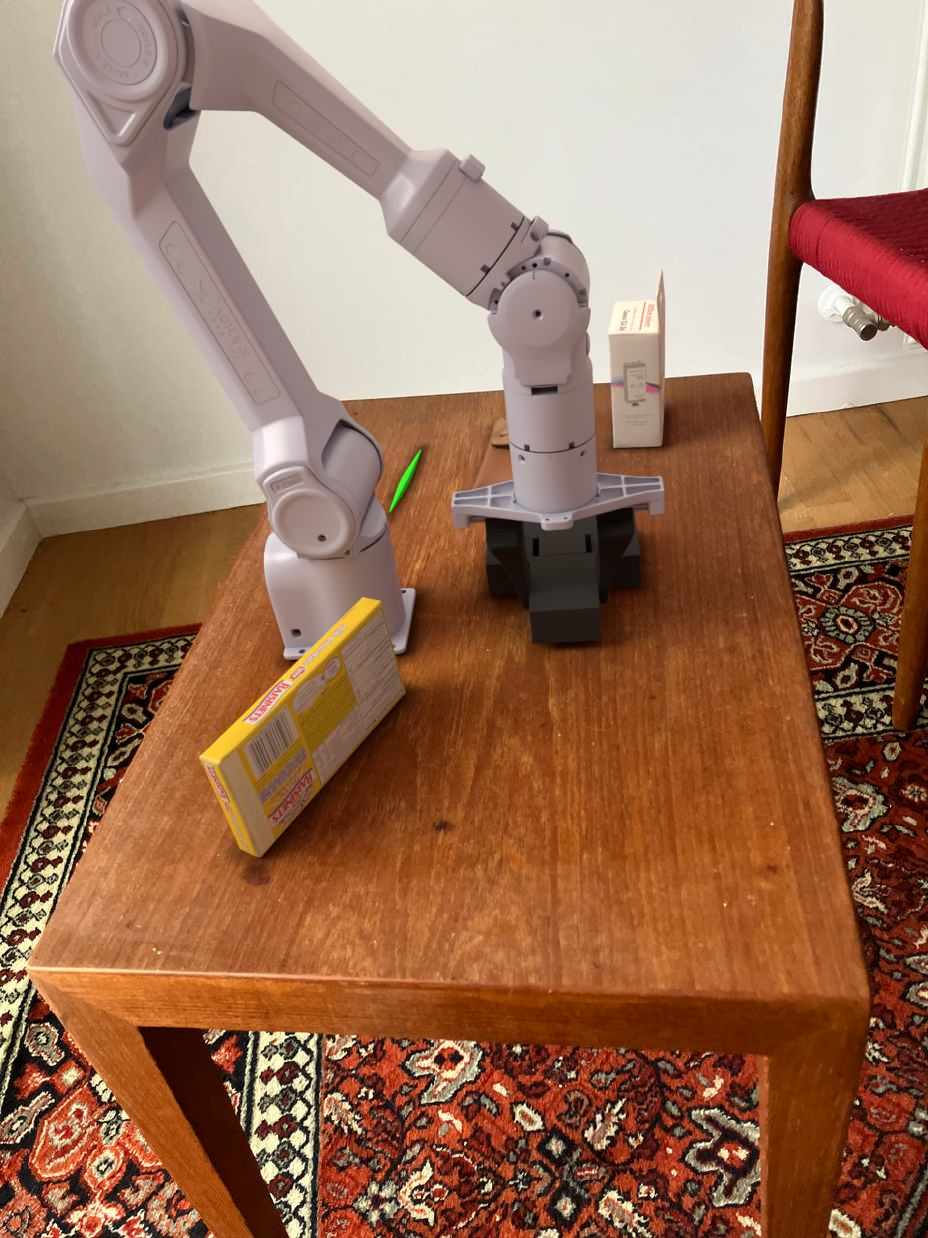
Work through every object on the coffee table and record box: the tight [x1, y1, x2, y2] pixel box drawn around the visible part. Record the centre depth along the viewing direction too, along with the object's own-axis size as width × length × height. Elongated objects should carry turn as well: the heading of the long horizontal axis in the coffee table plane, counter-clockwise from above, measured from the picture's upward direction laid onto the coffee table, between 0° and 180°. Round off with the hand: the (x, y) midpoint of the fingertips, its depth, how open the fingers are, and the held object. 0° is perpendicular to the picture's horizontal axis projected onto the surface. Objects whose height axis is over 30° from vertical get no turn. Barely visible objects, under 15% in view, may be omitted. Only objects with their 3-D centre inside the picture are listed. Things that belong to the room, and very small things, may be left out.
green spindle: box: [387, 446, 424, 517], centre depth 92 cm, size 1×14×1 cm, turn 169°
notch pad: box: [485, 512, 642, 596], centre depth 77 cm, size 12×7×3 cm, turn 86°
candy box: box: [198, 597, 407, 858], centre depth 60 cm, size 16×2×8 cm, turn 149°
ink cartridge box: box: [607, 268, 666, 449], centre depth 91 cm, size 9×5×15 cm, turn 168°
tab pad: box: [528, 532, 602, 645], centre depth 71 cm, size 5×10×3 cm, turn 176°
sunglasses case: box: [472, 414, 513, 490], centre depth 92 cm, size 18×7×7 cm
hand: (564, 598), depth 70 cm, fingers closed on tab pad, 5 cm apart
